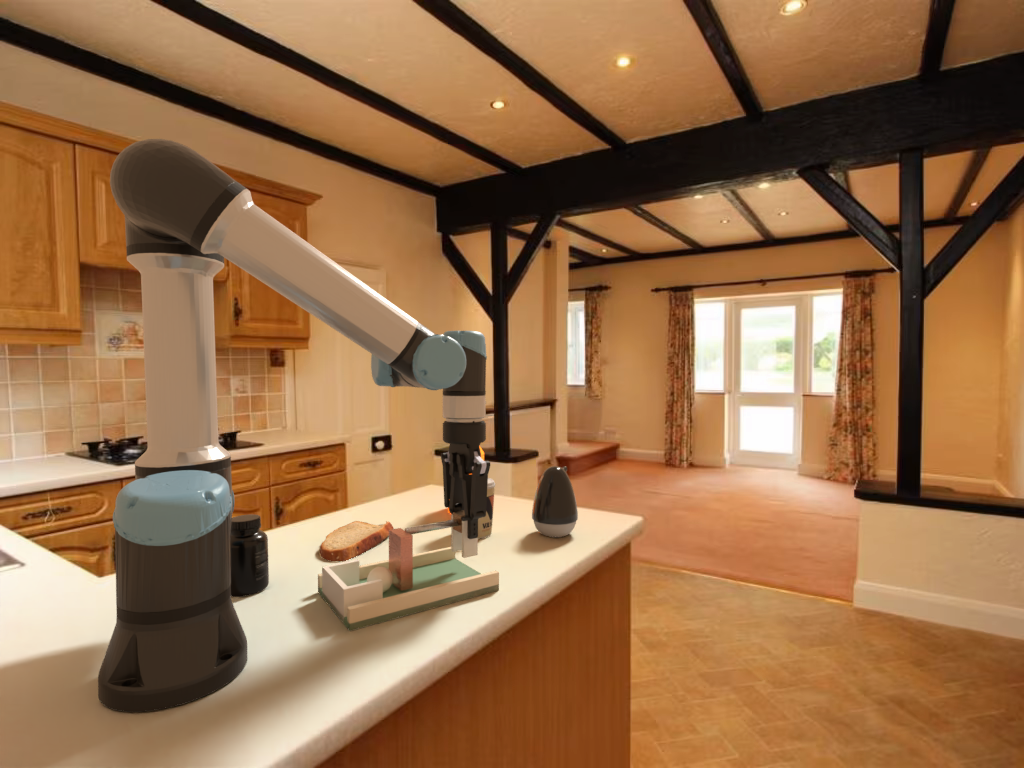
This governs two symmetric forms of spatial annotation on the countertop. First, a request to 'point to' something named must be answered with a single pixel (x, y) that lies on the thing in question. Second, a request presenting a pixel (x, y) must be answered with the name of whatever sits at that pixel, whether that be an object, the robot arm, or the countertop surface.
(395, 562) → the rod
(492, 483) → the coffee cup
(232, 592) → the supplement bottle
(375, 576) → the ball
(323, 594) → the pitch
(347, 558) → the slice of bread
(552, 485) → the dark grey egg shape
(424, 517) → the countertop surface
